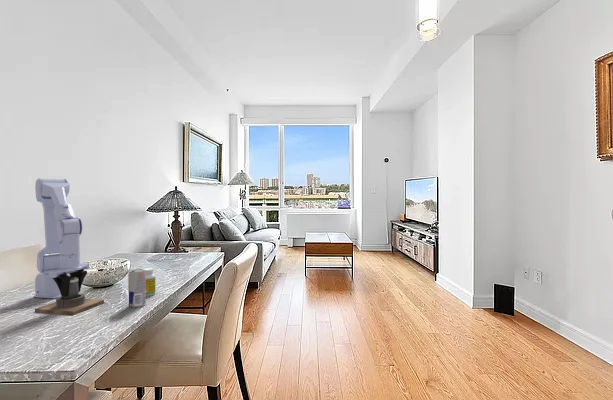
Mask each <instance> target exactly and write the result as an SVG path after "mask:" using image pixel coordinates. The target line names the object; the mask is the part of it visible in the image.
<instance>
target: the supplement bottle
mask: <svg viewBox="0 0 613 400" xmlns="http://www.w3.org/2000/svg"><path fill="white" fill-rule="evenodd" d="M142 269H143V270H145V279H146V297H149V296H150V297H151V296H154V295H155V294H156V274H155V273H154V268H152V267H146V268H142Z"/></svg>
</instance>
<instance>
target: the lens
mask: <svg viewBox="0 0 613 400" xmlns="http://www.w3.org/2000/svg"><path fill="white" fill-rule="evenodd" d="M78 281H79V278H78V277H77V276H72V277H71V280H70V284H69V294H68V296H67V297H64V296H63V299H64V300H66V299H74V298H78V297H79V294H80V292H79V289H78Z"/></svg>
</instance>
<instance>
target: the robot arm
mask: <svg viewBox="0 0 613 400" xmlns="http://www.w3.org/2000/svg"><path fill="white" fill-rule="evenodd" d="M34 188H35V198H36V202H38V203H41V204H42V209H43V219H44V220H43V221H44V223H43V224H44V238H45V240H44V241H45V246H44V247H43V248H42V249H40V250H39V251H38V253H37V256H36V257H37V258H36V268H37V271H38V272H39V273H38V274H37V275H36V276H35V279H34V286H35V287H34V289H35V290H34V291H35V293H34V295H33V298H41V299H42V298H44V299H56V298H58V297H60V296H64V297H67V296H68V294H69V284H70V280H71V277H72V276H77V277H78V278H79V281H78V289H79V293H80V291H81V288H82V287H83V286H82V285H83V282H84V279H85V278H86V276H87V275H88V271H87V270H89V269H90V263H89V262H88V263H87V262H84V263H81V243H80V242H81V241H80V240H81V238H80V236H81V235H82V233H83V222H82V219H81V218H80V217H79V216H77V215H76V212H75V210H74V208H73V206H72V205H71V204H69V203H68V199H67V197H68V195H69V193H70V182H69V180H68V179H67V178H62V179H61V178H57V179H56V178H53V179H52V178H37V179H36V181H35V187H34ZM68 273H69V274H70V276H67V275H66V274H68Z"/></svg>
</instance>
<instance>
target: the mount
mask: <svg viewBox="0 0 613 400" xmlns="http://www.w3.org/2000/svg"><path fill="white" fill-rule="evenodd" d="M104 303H105V300H104V299H93V298H86V295H85V294H84V293H79V297H78V298H74V299H66V300H64V299H63V296H60V297H57V298H55V301H54V302H51V303H48V304H44V305H42V306H39V307H37V308H34V312H35V313H42V314H43V313H47V314H57V315H58V314H59V315H71V316H72V315H73V316H74V315H78V314H79V313H82V312H85V311H88V310H89V309H92V308H95V307H98V306H99V305H103V304H104Z"/></svg>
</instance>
